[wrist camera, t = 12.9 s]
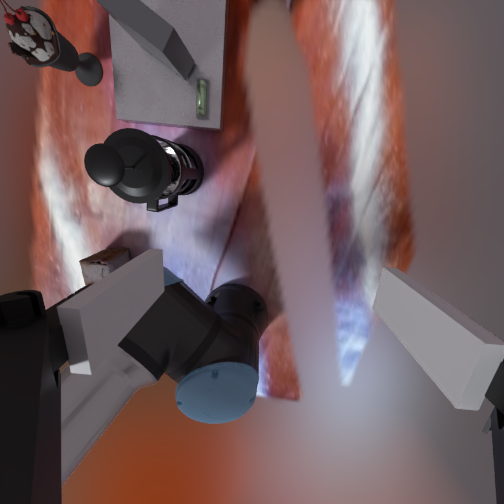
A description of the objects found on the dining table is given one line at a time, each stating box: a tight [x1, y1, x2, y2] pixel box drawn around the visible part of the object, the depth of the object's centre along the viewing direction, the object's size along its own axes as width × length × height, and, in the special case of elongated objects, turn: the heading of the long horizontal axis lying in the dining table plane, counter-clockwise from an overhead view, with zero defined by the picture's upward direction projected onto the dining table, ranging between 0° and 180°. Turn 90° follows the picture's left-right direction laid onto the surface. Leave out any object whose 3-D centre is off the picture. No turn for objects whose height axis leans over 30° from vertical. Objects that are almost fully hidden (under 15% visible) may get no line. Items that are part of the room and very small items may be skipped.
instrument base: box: [109, 0, 229, 132], centre depth 38 cm, size 20×18×5 cm
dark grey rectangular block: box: [97, 0, 195, 80], centre depth 32 cm, size 14×3×9 cm, turn 55°
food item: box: [79, 247, 130, 286], centre depth 49 cm, size 14×8×10 cm, turn 2°
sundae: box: [0, 0, 102, 86], centre depth 34 cm, size 7×7×15 cm
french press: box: [84, 128, 204, 212], centre depth 35 cm, size 12×9×23 cm
